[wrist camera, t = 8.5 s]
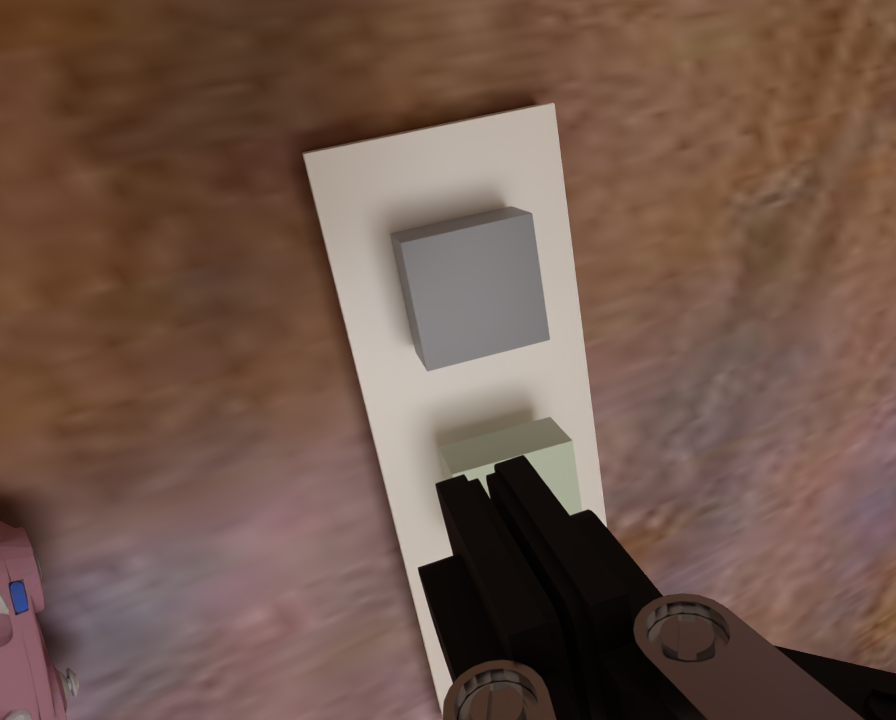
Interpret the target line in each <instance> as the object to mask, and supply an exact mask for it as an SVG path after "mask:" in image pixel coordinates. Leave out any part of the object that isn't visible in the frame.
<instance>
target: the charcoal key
mask: <svg viewBox="0 0 896 720" xmlns="http://www.w3.org/2000/svg"><path fill="white" fill-rule="evenodd" d="M390 236H391V240H392V245H393V250H394V254H395V259H396V264H397V268H398V273H399V278H400V282H401V287H402V292H403V296H404V301H405V306H406V310H407V315H408V320H409V324H410V329H411V334H412V338H413V343H414V348H415V352H416V354H417V355H418V357H419V359H420V360H421V362H422V364H423V365H424V367H425V369H426V370H427V371H431V370H435V369H439V368H443V367H447V366H451V365H455V364H458V363H462V362H466V361H470V360H474V359H478V358H482V357H486V356H490V355H493V354H497V353H501V352H505V351H509V350H513V349H517V348H521V347H524V346H528V345H532V344H536V343H540V342H544V341H548V340H550V335H549V328H548V321H547V314H546V307H545V300H544V293H543V286H542V279H541V272H540V264H539V257H538V250H537V243H536V236H535V229H534V222H533V215H532V213H530V212H527V211H524V210H521V209H519V208H516V207H513V206H510V207H505V208H501V209H496V210H492V211H487V212H483V213H479V214H474V215H470V216H465V217H461V218H456V219H452V220H448V221H443V222H439V223H434V224H430V225H425V226H421V227H417V228H412V229H408V230H403V231H399V232H394V233H390Z"/></svg>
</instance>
